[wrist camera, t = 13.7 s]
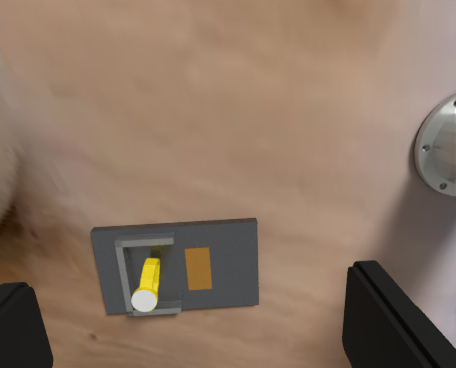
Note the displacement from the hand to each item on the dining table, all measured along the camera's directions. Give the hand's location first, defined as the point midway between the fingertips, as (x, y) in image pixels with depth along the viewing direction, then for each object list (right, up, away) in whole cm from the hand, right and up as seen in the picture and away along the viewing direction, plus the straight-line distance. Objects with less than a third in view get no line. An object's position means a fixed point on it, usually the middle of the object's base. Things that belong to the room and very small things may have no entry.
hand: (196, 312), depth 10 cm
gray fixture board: (-5, -7, +32) cm, 33 cm away
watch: (-8, -7, +31) cm, 33 cm away
